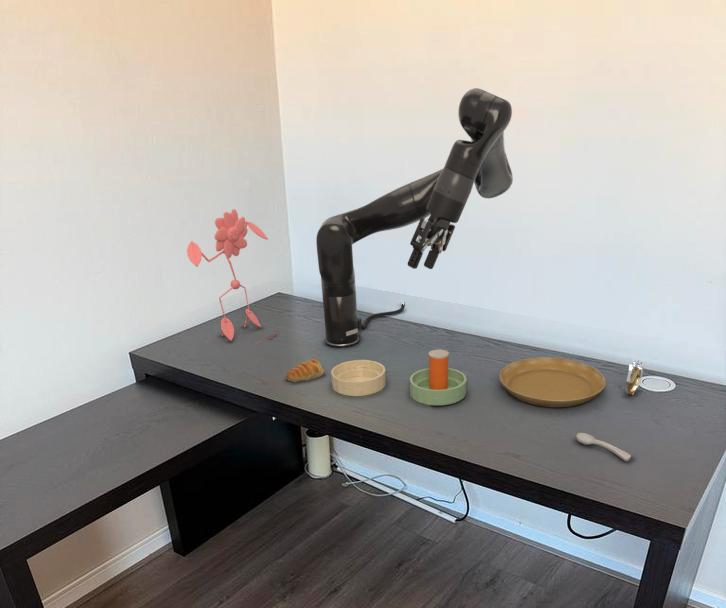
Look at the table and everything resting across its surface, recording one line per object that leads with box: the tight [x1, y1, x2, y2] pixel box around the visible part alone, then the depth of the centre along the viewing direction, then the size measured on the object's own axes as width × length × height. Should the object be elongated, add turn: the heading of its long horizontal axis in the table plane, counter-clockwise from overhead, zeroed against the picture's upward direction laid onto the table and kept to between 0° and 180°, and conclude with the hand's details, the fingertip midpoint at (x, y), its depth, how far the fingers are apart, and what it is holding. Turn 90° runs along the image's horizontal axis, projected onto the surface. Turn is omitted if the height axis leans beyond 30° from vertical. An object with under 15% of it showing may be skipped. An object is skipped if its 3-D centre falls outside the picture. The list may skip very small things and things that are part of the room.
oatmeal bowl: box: [330, 359, 387, 397], centre depth 167 cm, size 13×13×4 cm
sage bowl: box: [409, 367, 468, 406], centre depth 161 cm, size 13×13×4 cm
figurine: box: [186, 208, 280, 345], centre depth 192 cm, size 15×26×35 cm, turn 141°
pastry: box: [286, 358, 325, 383], centre depth 173 cm, size 9×7×4 cm
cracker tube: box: [428, 349, 450, 390], centre depth 159 cm, size 5×5×10 cm
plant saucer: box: [498, 356, 607, 408], centre depth 160 cm, size 24×24×3 cm
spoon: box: [575, 432, 632, 462], centre depth 137 cm, size 3×12×2 cm, turn 41°
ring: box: [625, 360, 645, 396], centre depth 155 cm, size 7×3×8 cm, turn 137°
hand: (419, 267), depth 153 cm, fingers open, 8 cm apart
